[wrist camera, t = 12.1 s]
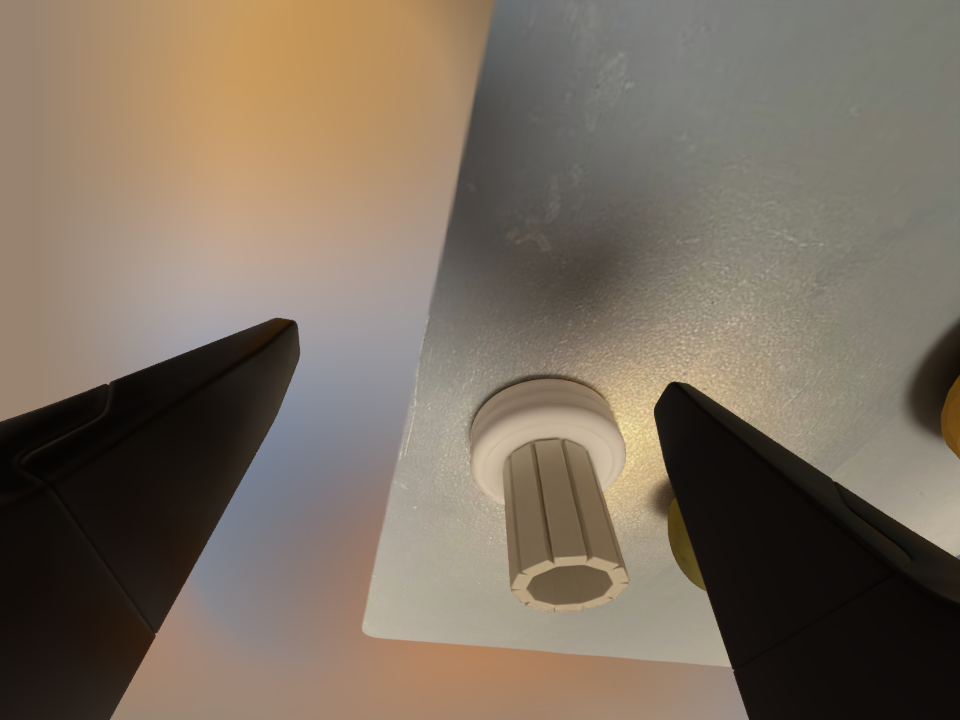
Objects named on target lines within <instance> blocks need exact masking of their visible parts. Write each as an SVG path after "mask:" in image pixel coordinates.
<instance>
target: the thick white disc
mask: <svg viewBox="0 0 960 720" xmlns="http://www.w3.org/2000/svg"><path fill="white" fill-rule="evenodd" d="M470 437H471V446H470V454H471V458H470V468H471V472H472V476H473V479H474V481H475V483H476V485H477V486H478V487H479V489H480V490H481V491H482V492H483V493H484V494H485V495H486V496H488V497H489V498H490V499H492V500H494V501H495V502H497V503H499V504H501V505H504V506H505V501H504V486H503V470H504V467H505V465H506V462H507V459H508V458H511V454H512V453H514V452H515V451H517V450H519V449H520V448H522V447H524V446H525V445H527V444H529V443H531V444H532V445H533V446H534V447H535V442H536V441H548V440H560V442H561V444H562V443H563V442H564V441H565V440H566V441H569V442H571V443H574V444H576V445H578V446H581V447H583V448H585V451H588V452H589V454H590V456H591V458H592V461H593V463H594V465H595V469H596V472H597V475H598V478H599V482H600V485H601V488H602V492H603V493H604V492H605V491H606V490H607V489H608V488H609V487H610V486H611V485H612V484H613V483H614V482H615V481H616V480H617V478H618V477H619V476H620V474H621V472H622V470H623V467H624V464H625V459H626V448H625V442H624V439H623V436H622V435H621V433H620V430H619V427H618V424H617V422H616V420H615V418H614V415H613V412H612V410H611V408H610V406H609V405H608V404H607V403H606V401H605V400H604V399H603V398H602V397H601V396H600V395H598V394H597V393H596V392H595V391H593V390H591V389H590V388H588V387H586V386H583V385H581V384H578V383H575V382H571V381H566V380H559V379H539V380H532V381H527V382H523V383H519V384H516V385H513V386H511V387H509V388H506V389H504V390H503V391H501V392H499V393H497V394H496V395H495V396H493V397H492V398H491V399H490V400H489V401H488V402H486V403H485V404H484V406H483V407H482V408H481V409H480V411H479V412H478V414H477V416H476V418H475V420H474V422H473V425H472V428H471V435H470Z"/></svg>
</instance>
